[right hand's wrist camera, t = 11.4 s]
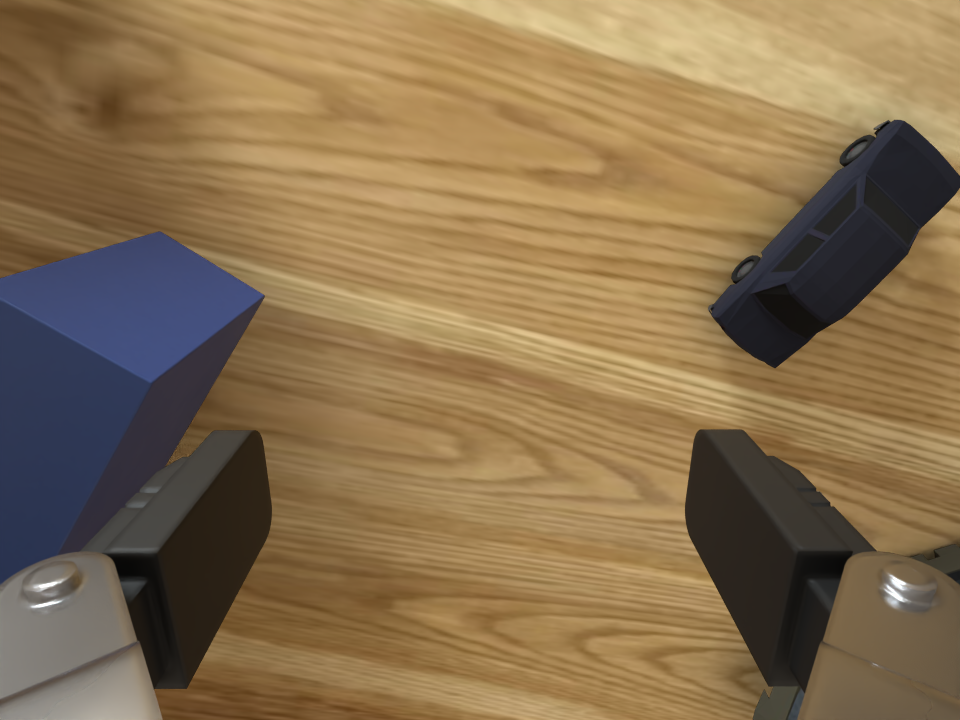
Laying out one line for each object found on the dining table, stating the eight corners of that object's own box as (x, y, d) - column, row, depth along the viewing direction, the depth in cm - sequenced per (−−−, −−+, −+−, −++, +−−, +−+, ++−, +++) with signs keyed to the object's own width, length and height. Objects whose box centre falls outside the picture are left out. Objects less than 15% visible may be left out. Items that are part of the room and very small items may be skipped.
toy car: (935, 180, 36) (1002, 186, 32) (755, 360, 40) (792, 389, 36) (871, 116, 35) (932, 112, 30) (693, 308, 39) (722, 331, 34)
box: (160, 230, 32) (-25, 284, 20) (265, 295, 33) (152, 383, 21) (-21, 582, 39) (-236, 777, 27) (72, 623, 41) (-94, 828, 29)
